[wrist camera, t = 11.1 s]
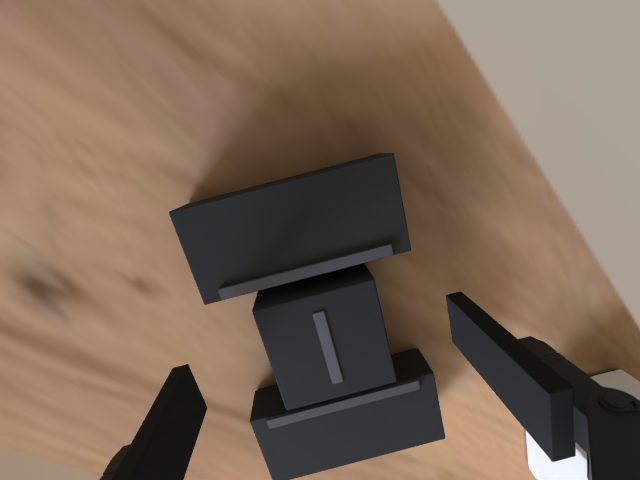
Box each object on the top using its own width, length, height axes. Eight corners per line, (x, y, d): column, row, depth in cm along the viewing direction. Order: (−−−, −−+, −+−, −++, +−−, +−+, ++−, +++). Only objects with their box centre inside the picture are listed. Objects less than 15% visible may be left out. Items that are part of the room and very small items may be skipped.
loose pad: (258, 287, 19) (251, 311, 16) (362, 259, 19) (374, 279, 16) (287, 375, 21) (286, 412, 18) (383, 350, 21) (397, 382, 18)
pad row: (185, 204, 17) (166, 212, 15) (380, 153, 17) (395, 152, 15) (276, 448, 22) (273, 487, 20) (429, 408, 22) (447, 441, 20)
